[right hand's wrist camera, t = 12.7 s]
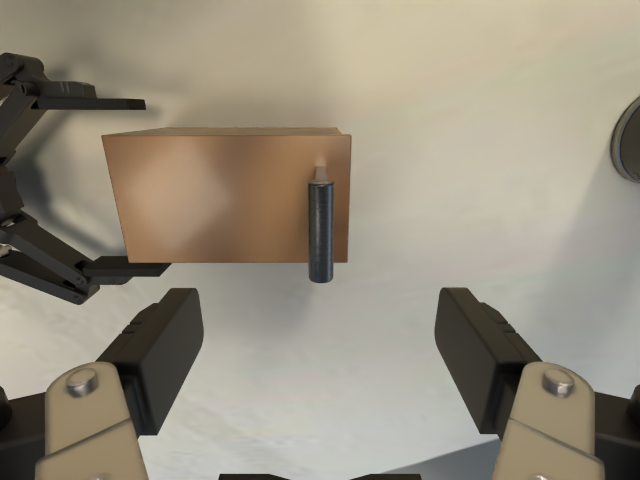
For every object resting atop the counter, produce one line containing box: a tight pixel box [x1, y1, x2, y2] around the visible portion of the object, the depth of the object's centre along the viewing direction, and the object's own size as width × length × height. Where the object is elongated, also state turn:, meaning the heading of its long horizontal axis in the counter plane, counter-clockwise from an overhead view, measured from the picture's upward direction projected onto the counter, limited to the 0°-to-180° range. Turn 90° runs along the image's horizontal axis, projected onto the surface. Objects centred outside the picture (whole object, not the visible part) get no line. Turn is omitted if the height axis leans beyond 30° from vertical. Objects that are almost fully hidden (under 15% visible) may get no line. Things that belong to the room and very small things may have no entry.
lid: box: [101, 134, 351, 283], centre depth 22 cm, size 17×9×8 cm, turn 90°
